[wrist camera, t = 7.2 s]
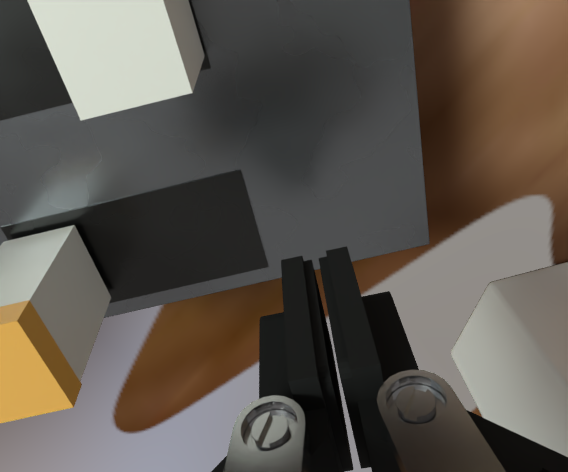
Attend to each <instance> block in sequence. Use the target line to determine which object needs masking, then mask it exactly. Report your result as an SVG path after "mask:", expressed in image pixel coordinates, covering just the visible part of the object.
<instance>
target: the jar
mask: <svg viewBox="0 0 568 472" xmlns="http://www.w3.org/2000/svg"><path fill="white" fill-rule="evenodd" d="M451 357H452V359H453V361H454V362H455V365H456V366H457V368H458V370H459V372H460V374H461V376H462V378H463V380H464V382H465V384H466V386H467V388H468V389H469V392H470V393H471V396H472V398H473V399H474V401H475V403H476V405H477V407H478V409H479V411H480V413H481V415H482V417H483V418H485V419H487V420H489V421H491V422H493V423H495V424H498V425H500V426H502V427H504V428H506V429H508V430H510V431H513V432H515V433H517V434H519V435H521V436H523V437H526V438H528V439H530V440H532V441H534V442H536V443H539V444H541V445H543V446H545V447H547V448H549V449H551V450H554V451H556V452H558V453H560V454H562V455H564V456H567V457H568V262H565V263H561V264H557V265H553V266H550V267H546V268H542V269H538V270H535V271H530V272H527V273H523V274H519V275H515V276H512V277H508V278H504V279H500V280H496V281H493V282H490V283H489V284H488V286H487V288H486V289H485V291H484V293H483V295H482V297H481V298H480V300H479V302H478V304H477V306H476V307H475V309H474V311H473V313H472V314H471V316H470V318H469V320H468V322H467V323H466V325H465V327H464V329H463V330H462V332H461V334H460V336H459V338H458V339H457V341H456V343H455V345H454V347H453V348H452V350H451Z"/></svg>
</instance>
